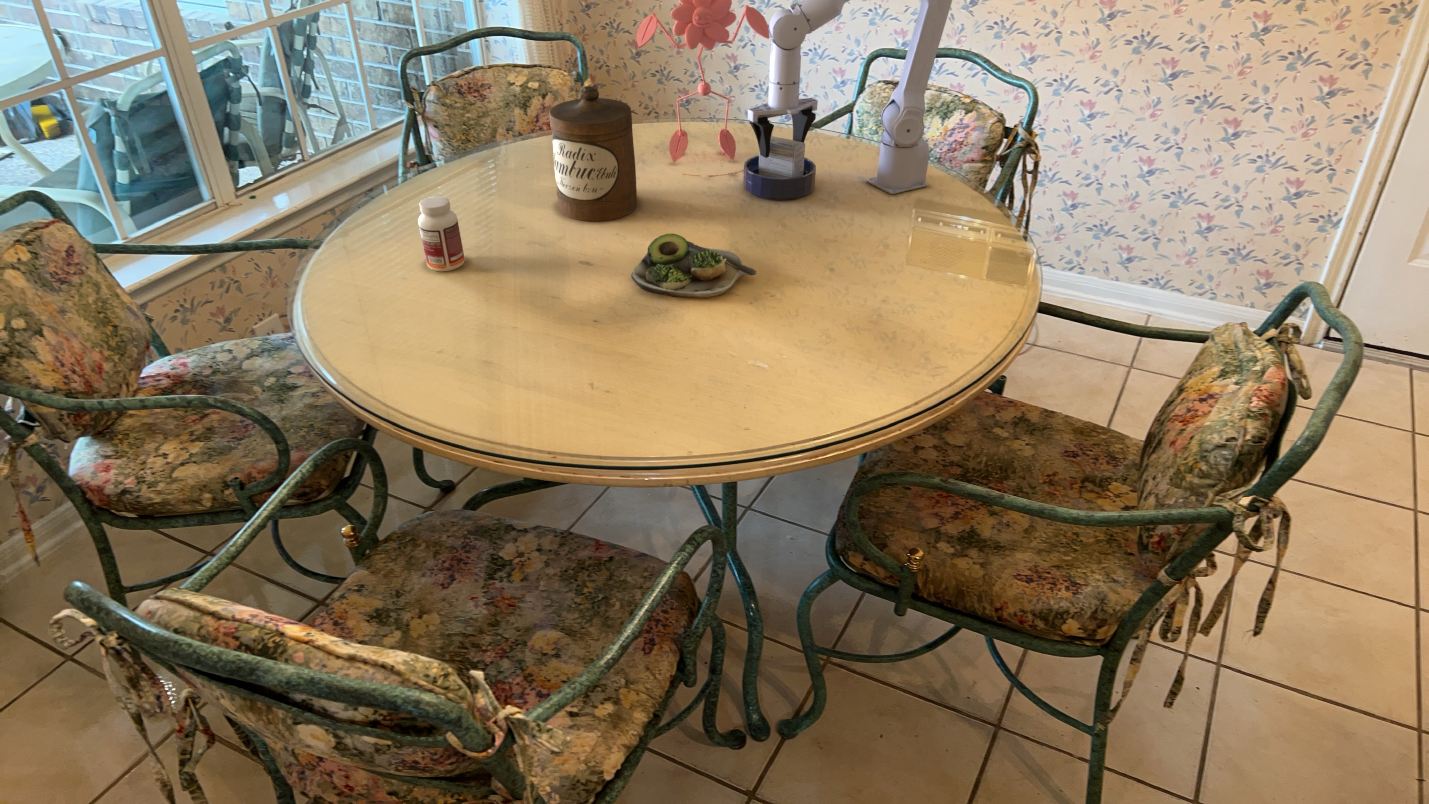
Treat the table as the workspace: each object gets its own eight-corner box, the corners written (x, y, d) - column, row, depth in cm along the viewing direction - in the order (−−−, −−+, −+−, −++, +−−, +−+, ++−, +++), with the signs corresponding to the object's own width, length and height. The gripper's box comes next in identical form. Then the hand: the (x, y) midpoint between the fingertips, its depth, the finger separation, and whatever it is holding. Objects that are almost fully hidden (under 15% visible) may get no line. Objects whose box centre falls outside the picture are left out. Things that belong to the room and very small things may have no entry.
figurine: (641, 153, 194) (634, -24, 174) (760, 151, 195) (767, -25, 175) (641, 180, 181) (634, -8, 161) (769, 177, 183) (777, -9, 163)
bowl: (788, 170, 186) (789, 148, 184) (828, 193, 176) (830, 171, 174) (730, 182, 180) (730, 160, 178) (768, 207, 171) (769, 184, 168)
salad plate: (768, 261, 152) (769, 235, 149) (739, 310, 138) (740, 284, 135) (660, 245, 157) (660, 220, 154) (621, 292, 143) (620, 265, 140)
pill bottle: (460, 253, 153) (450, 191, 147) (469, 268, 149) (458, 205, 143) (423, 260, 151) (411, 197, 145) (430, 275, 147) (418, 212, 140)
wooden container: (543, 214, 167) (530, 94, 154) (582, 186, 178) (573, 72, 165) (614, 227, 162) (607, 104, 150) (650, 198, 174) (646, 81, 161)
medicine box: (803, 185, 178) (806, 142, 173) (793, 192, 175) (795, 149, 170) (768, 177, 181) (770, 134, 176) (757, 184, 178) (759, 141, 173)
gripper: (762, 92, 161) (760, 165, 169) (829, 80, 167) (823, 152, 174) (742, 82, 166) (740, 154, 174) (807, 71, 172) (802, 141, 179)
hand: (781, 152), depth 174 cm, fingers open, 7 cm apart
